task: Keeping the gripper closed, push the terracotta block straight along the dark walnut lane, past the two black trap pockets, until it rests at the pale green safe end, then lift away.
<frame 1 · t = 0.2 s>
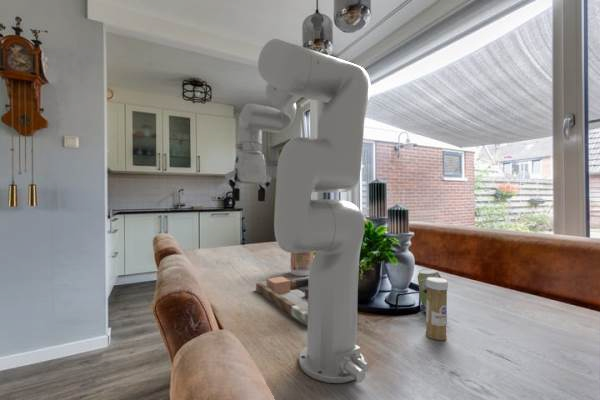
hand: (249, 201, 94), 31 cm above the table, tool pointing down, fingers open, 9 cm apart
trap lane: (296, 301, 86), on the table
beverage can: (430, 313, 80), on the table
sprinkles bottle: (435, 337, 66), on the table
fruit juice: (301, 273, 119), on the table
block: (278, 291, 97), on the table
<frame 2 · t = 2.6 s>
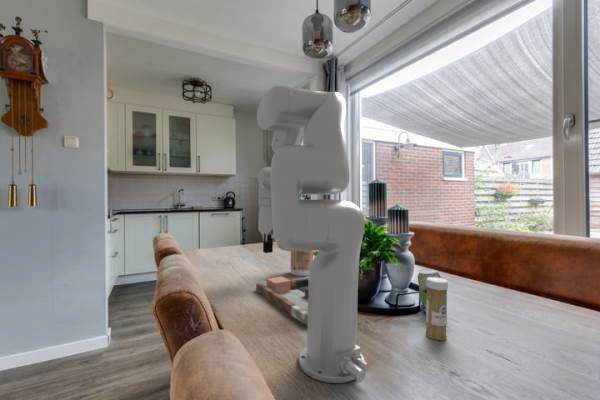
hand: (267, 252, 104), 12 cm above the table, tool pointing down, fingers closed
nothing on the table moved.
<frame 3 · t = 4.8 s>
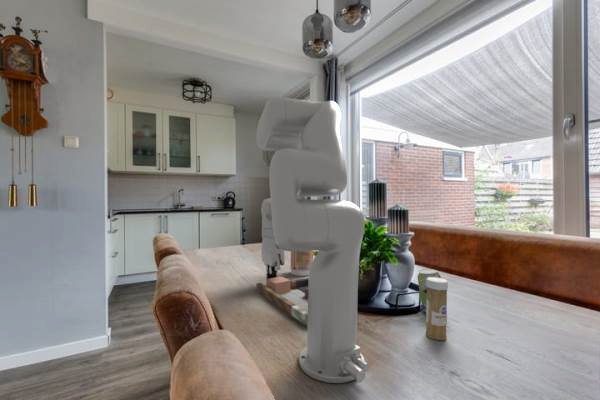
hand: (271, 283, 101), 1 cm above the table, tool pointing down, fingers closed
block: (278, 291, 97), on the table, touching gripper
everything else where it was.
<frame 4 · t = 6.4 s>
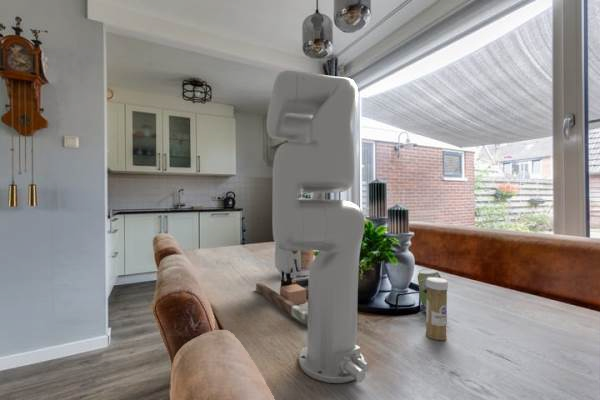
hand: (286, 292, 92), 1 cm above the table, tool pointing down, fingers closed
block: (292, 300, 87), on the table, touching gripper
everything else where it was.
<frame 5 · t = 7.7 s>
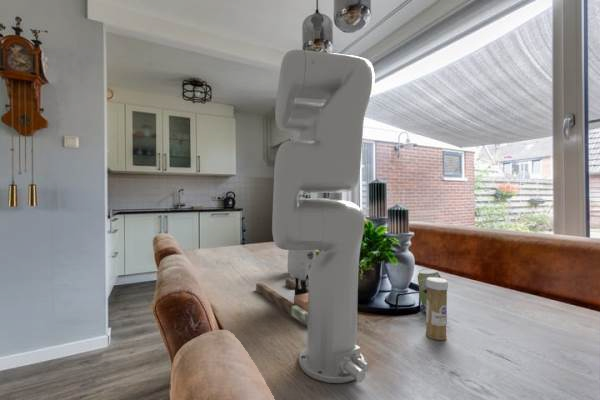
hand: (300, 300, 85), 1 cm above the table, tool pointing down, fingers closed
block: (308, 311, 80), on the table, touching gripper
everything else where it was.
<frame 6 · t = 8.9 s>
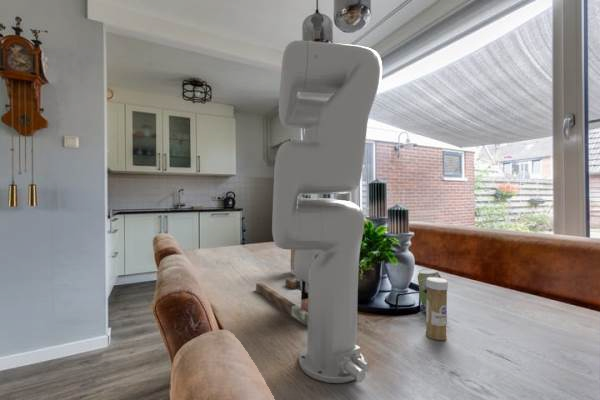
hand: (307, 304, 81), 1 cm above the table, tool pointing down, fingers closed
block: (315, 316, 77), on the table
everything else where it was.
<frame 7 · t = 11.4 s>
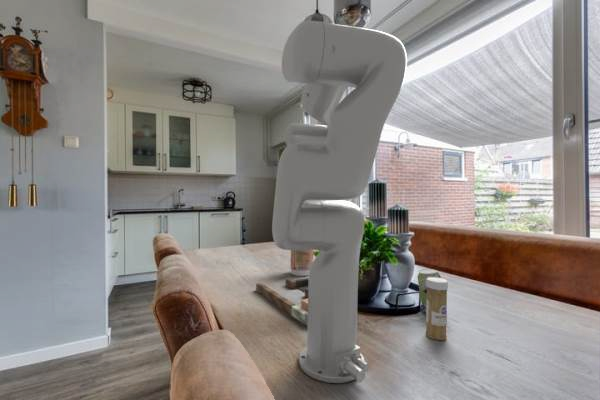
hand: (297, 230, 86), 22 cm above the table, tool pointing down, fingers closed
nothing on the table moved.
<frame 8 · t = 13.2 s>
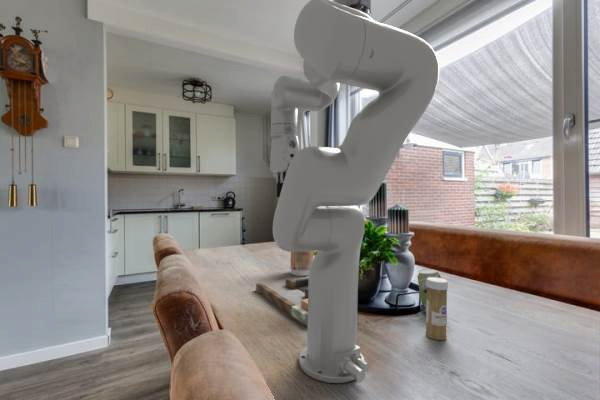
hand: (282, 197, 80), 32 cm above the table, tool pointing down, fingers closed
nothing on the table moved.
at the end: block inside the target area (1.4 cm from its centre), on the table; block tilted 0° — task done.
